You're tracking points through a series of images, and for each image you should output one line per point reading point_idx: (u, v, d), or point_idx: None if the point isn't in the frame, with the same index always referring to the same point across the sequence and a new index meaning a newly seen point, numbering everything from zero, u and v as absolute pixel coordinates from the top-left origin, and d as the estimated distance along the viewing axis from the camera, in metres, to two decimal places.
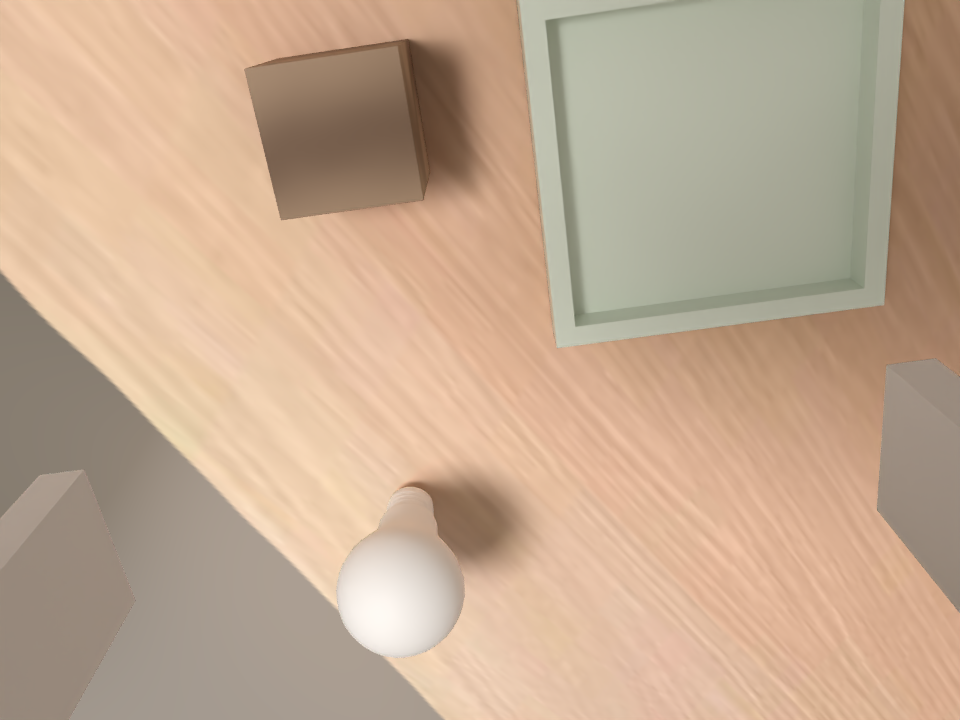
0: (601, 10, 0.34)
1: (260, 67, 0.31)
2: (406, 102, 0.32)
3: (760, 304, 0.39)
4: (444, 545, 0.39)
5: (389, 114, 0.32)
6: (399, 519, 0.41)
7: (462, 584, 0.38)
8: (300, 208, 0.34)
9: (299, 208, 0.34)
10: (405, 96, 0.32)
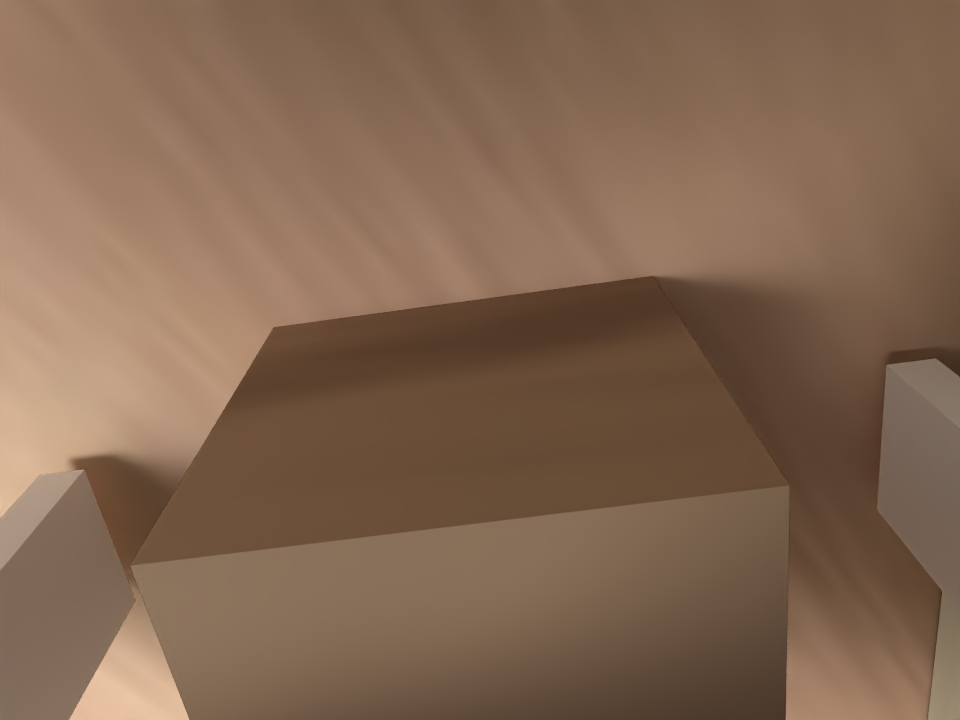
0: None
1: (198, 562, 0.07)
2: (781, 659, 0.08)
3: None
4: None
5: (710, 697, 0.08)
6: None
7: None
8: None
9: None
10: (782, 642, 0.08)
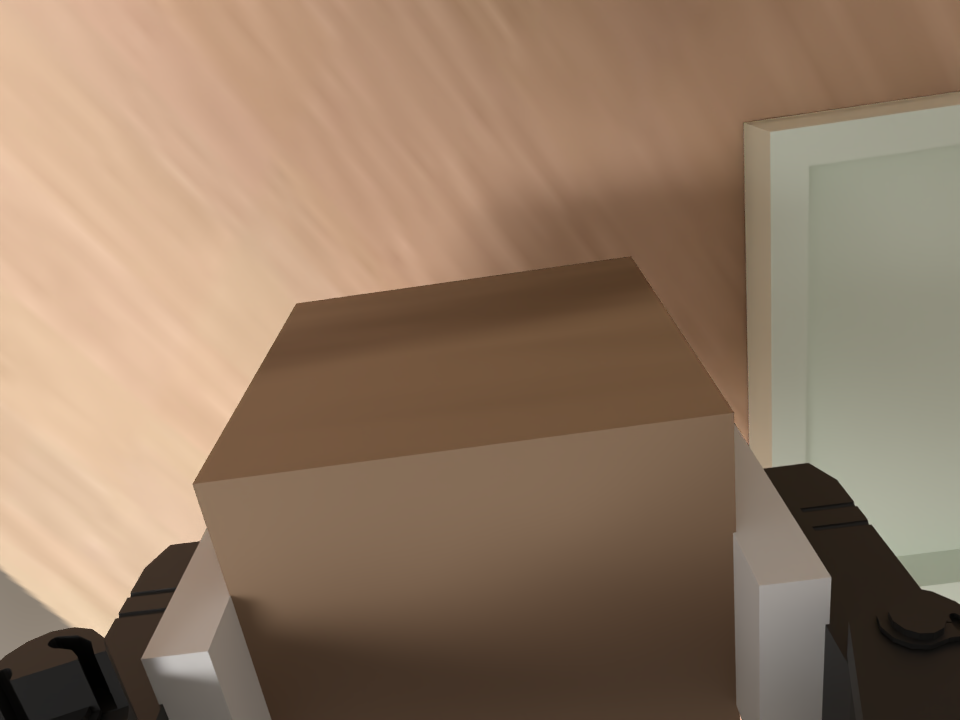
0: (902, 150, 0.21)
1: (249, 480, 0.09)
2: (732, 565, 0.10)
3: None
4: None
5: (673, 598, 0.10)
6: None
7: None
8: None
9: None
10: (732, 550, 0.10)
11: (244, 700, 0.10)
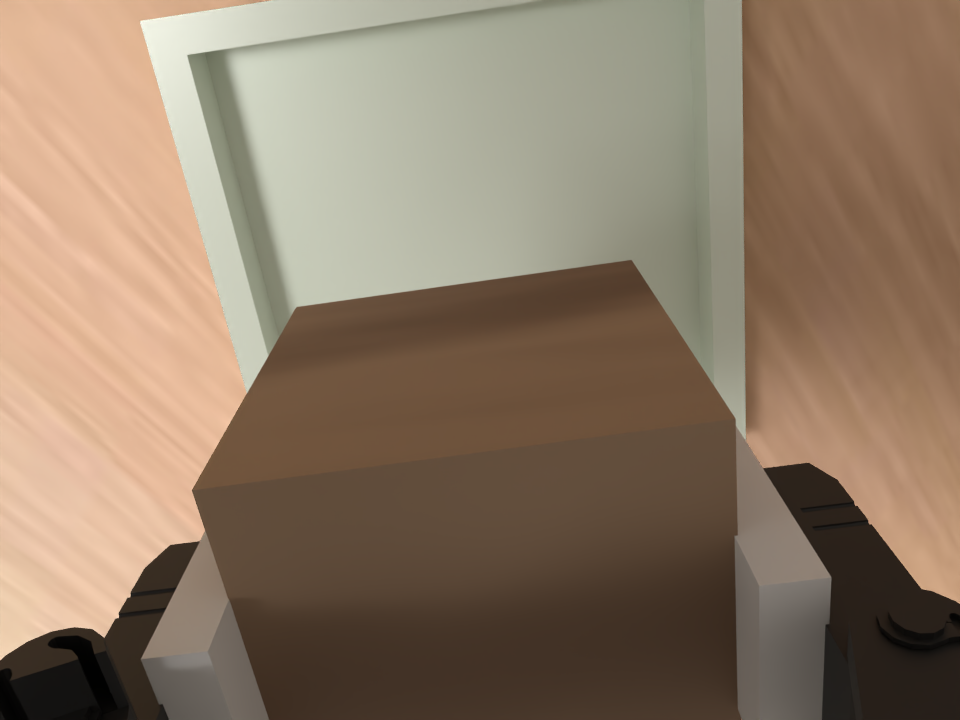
0: (271, 40, 0.22)
1: (248, 486, 0.09)
2: (734, 571, 0.10)
3: None
4: None
5: (675, 604, 0.10)
6: None
7: None
8: None
9: None
10: (734, 556, 0.10)
11: (244, 700, 0.10)
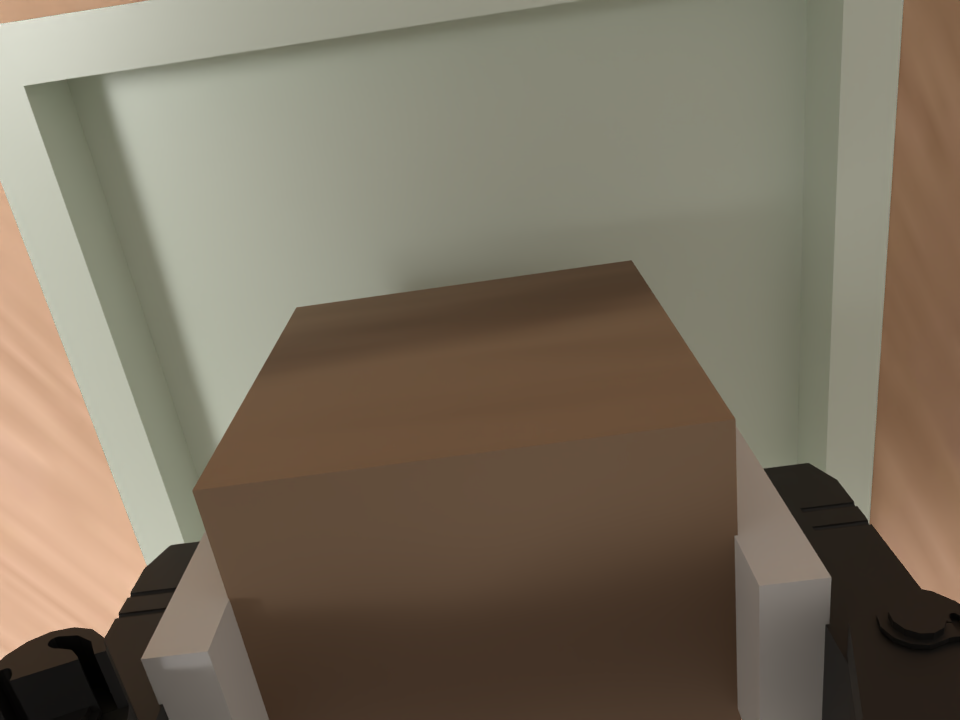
0: (156, 62, 0.14)
1: (249, 486, 0.09)
2: (734, 572, 0.10)
3: None
4: None
5: (676, 604, 0.10)
6: None
7: None
8: None
9: None
10: (734, 556, 0.10)
11: (244, 700, 0.10)
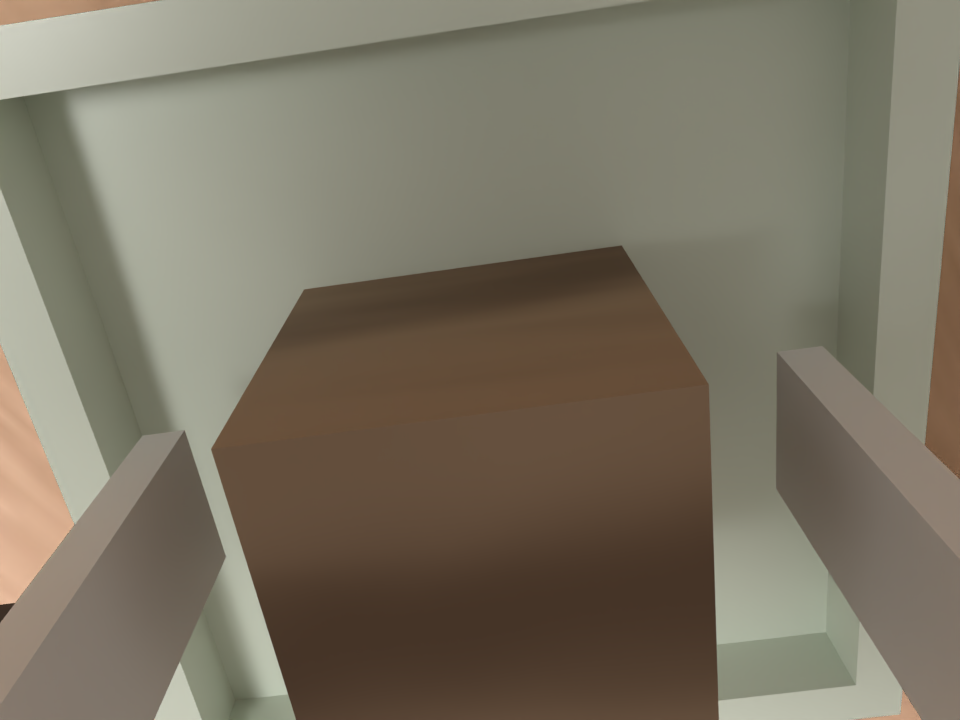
0: (117, 78, 0.12)
1: (262, 445, 0.10)
2: (709, 528, 0.10)
3: None
4: None
5: (655, 558, 0.11)
6: None
7: None
8: None
9: None
10: (709, 514, 0.10)
11: None
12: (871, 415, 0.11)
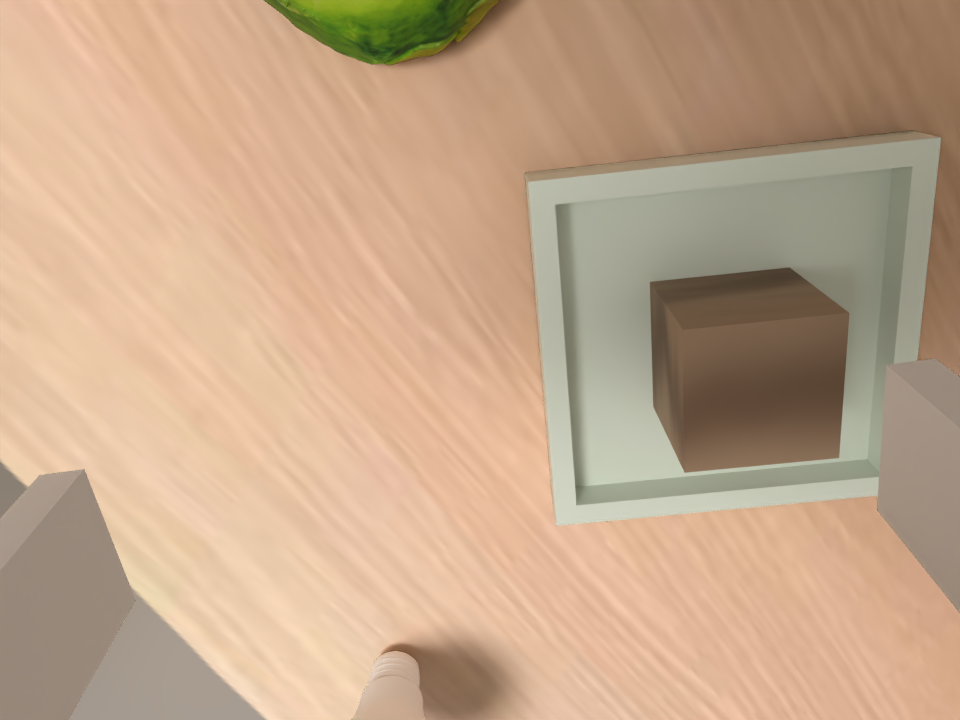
0: (614, 197, 0.32)
1: (700, 329, 0.30)
2: (844, 365, 0.30)
3: (772, 488, 0.37)
4: None
5: (824, 376, 0.30)
6: (382, 701, 0.38)
7: None
8: (708, 462, 0.32)
9: (706, 462, 0.32)
10: (844, 359, 0.30)
11: None
12: None
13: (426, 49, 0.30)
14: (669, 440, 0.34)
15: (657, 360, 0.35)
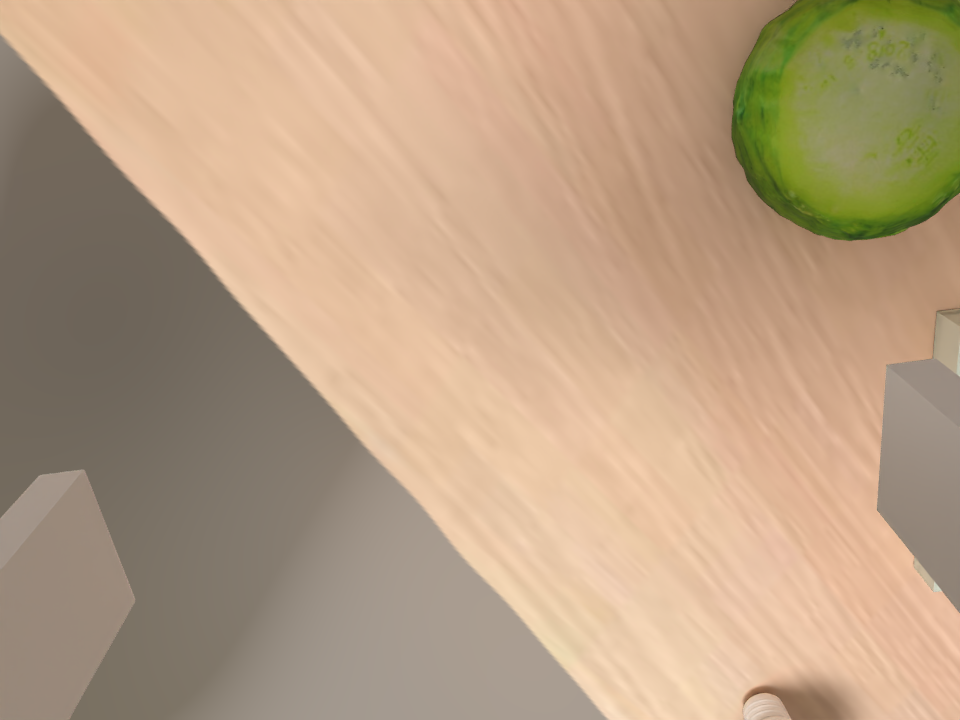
0: None
1: None
2: None
3: None
4: None
5: None
6: None
7: None
8: None
9: None
10: None
11: None
12: None
13: (897, 233, 0.37)
14: None
15: None
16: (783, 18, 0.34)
